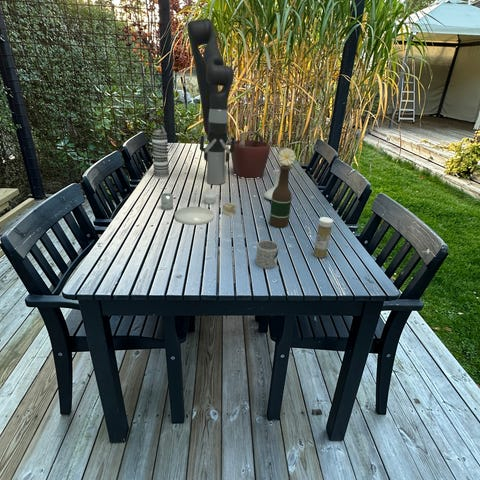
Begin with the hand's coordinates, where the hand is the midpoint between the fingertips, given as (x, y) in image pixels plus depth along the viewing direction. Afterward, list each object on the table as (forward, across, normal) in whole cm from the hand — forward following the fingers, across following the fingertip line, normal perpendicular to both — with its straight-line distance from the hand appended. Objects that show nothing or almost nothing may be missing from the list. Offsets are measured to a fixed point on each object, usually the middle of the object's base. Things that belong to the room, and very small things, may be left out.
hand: (216, 161), depth 142 cm
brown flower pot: (+20, +25, +51) cm, 60 cm away
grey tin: (+21, -21, -1) cm, 29 cm away
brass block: (+21, +5, -8) cm, 23 cm away
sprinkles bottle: (+21, +31, -47) cm, 60 cm away
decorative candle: (+20, -25, +48) cm, 58 cm away
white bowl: (+21, -10, -11) cm, 25 cm away
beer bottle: (+20, +24, -20) cm, 37 cm away
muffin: (+21, -2, +6) cm, 21 cm away
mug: (+21, +11, -49) cm, 54 cm away
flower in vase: (+20, +32, +9) cm, 39 cm away
